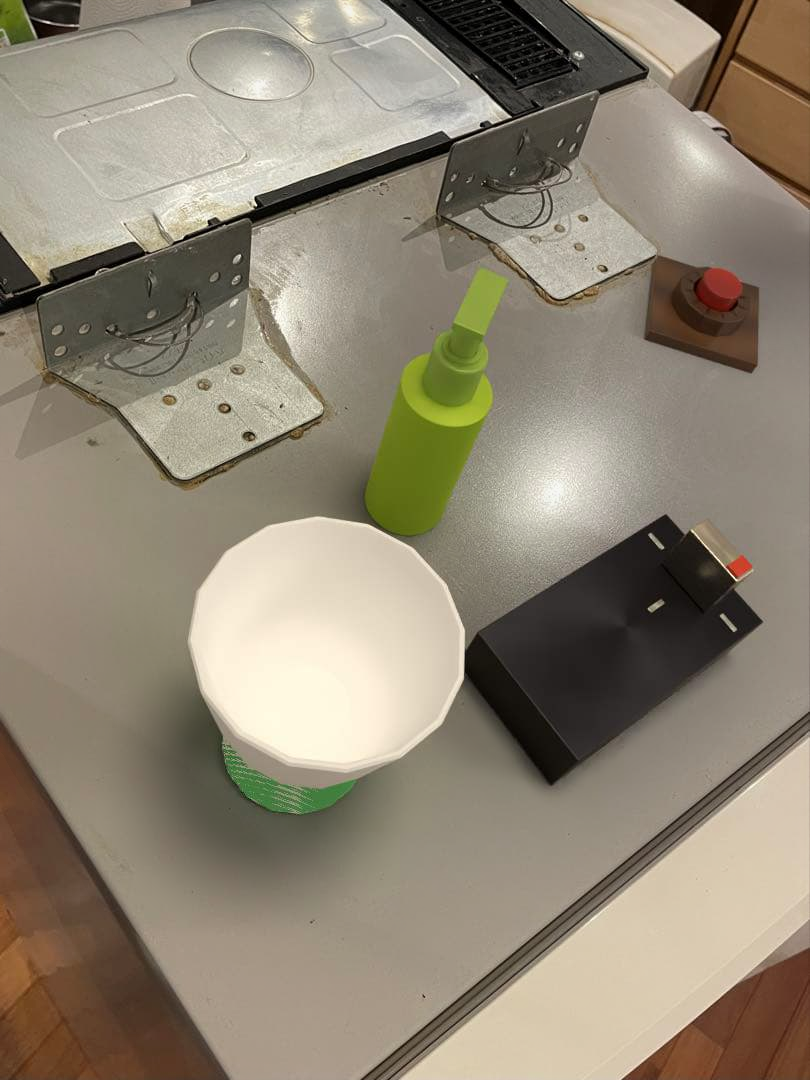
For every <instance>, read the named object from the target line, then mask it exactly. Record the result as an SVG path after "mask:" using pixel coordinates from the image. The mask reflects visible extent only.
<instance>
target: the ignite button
mask: <svg viewBox="0 0 810 1080" xmlns="http://www.w3.org/2000/svg"><path fill="white" fill-rule="evenodd" d="M711 268H712V269H709V270H708V271H706V272H705V274H704V275H703V277H702V279H701V280H700V282H699V283H698V285H697V286H696V290H695V293H696V296H697V298H698V300H699V301H700V302H702V303H703V304H704V305H705V306H707V307H708V308H710V309H713V310H716V311H719V312H725V311H728V310H730V309H731V308H732V307H733V305H734V304H735V302H736V301H737V299H738V298H739V297H740V295H741V293H742V284H741V282H742V281H741V280H740V279H739V278H738V276H737V275H735V274H734V273H732V272H731V271H729V270H727V269H724V268H721V267H711ZM740 281H741V282H740Z"/></svg>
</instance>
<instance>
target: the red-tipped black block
mask: <svg viewBox="0 0 810 1080" xmlns="http://www.w3.org/2000/svg"><path fill="white" fill-rule="evenodd" d="M662 564H663V565H664V566H665V567H666V569H667V570H668V571H669V572H670V573H671V574H672V576H673V577H674V578H675V579H676V580H677V581H678V582H679V584H680V585H681V586H682V587H683V588H684V589H685V591H686V592H687V593H688V594H689V595H690V596H691V597H692V599H693V600H694V601H695V602H696V603H697V604H698V605H699V607H700V608H701V609H702V610H703V611H704V612H707V611H709V610H710V609H711V608H713V607H714V606H716V605H717V604H719V603H720V602H721V601H723V600H724V599H725V598H726V597H727V596H728V595H729V594H730V593H731V592H732V591H733V590H736V588H737V587H739V586H740V585H741V584H742V583H743V582H744V581H745V580H746V579H747V578H748V577H749V576H750V575H751V574H752V573H753V572H754V571H755V569H754V566H753V564H751V563H750V561H749V560H747V558H746V557H745V556H744V555H743V554H741V553H740V552H739V551H738V550H737V549H736V548H735V547H734V545H732V543H731V542H730V541H729V540H728V539H727V538H726V537H725V535H724V534H723V533H722V532H721V531H720V530H719V529H718V528H717V527H716V525H714V524H713V522H712V521H711V520H710V518H705V519H704V520H703V521H701V522H699V523H697V524H696V525H695V526H692V527H691V528H690V529H689V530H688V531H686V533H685V536H684V537H683V538H682V539H681V540H680V541H679V543H678V544H677V545H676V546H675V547H674V548H673V549H672V551H671V552H670V553H669V554H668V555H667V556H666V557H665V559H664V560H663V561H662Z"/></svg>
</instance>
